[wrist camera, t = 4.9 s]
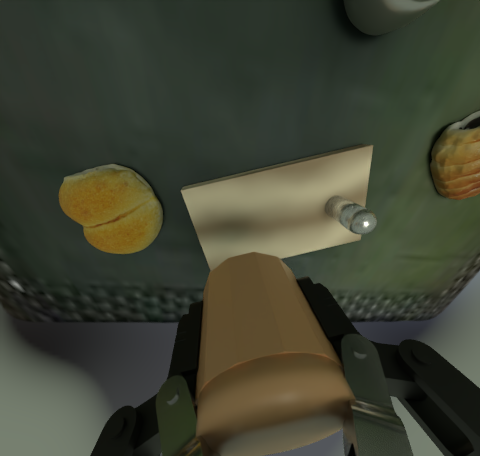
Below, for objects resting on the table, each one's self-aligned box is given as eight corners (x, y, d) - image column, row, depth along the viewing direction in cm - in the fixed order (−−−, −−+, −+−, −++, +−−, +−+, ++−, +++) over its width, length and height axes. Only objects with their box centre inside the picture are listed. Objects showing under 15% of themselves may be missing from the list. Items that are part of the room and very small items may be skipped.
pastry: (479, 181, 23) (524, 189, 19) (424, 206, 24) (458, 218, 20) (492, 99, 18) (553, 92, 15) (424, 134, 19) (467, 134, 16)
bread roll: (111, 251, 22) (90, 274, 18) (58, 177, 17) (17, 188, 14) (178, 233, 21) (170, 253, 18) (141, 154, 17) (121, 160, 14)
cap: (192, 266, 11) (166, 421, 5) (289, 243, 11) (372, 371, 5) (218, 324, 13) (219, 467, 8) (294, 306, 13) (351, 435, 8)
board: (183, 186, 19) (180, 190, 17) (362, 144, 19) (373, 145, 17) (212, 267, 24) (212, 275, 23) (352, 233, 24) (360, 239, 23)
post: (324, 198, 19) (357, 218, 15) (346, 193, 19) (386, 211, 15) (324, 218, 21) (355, 242, 16) (344, 213, 21) (381, 235, 16)
